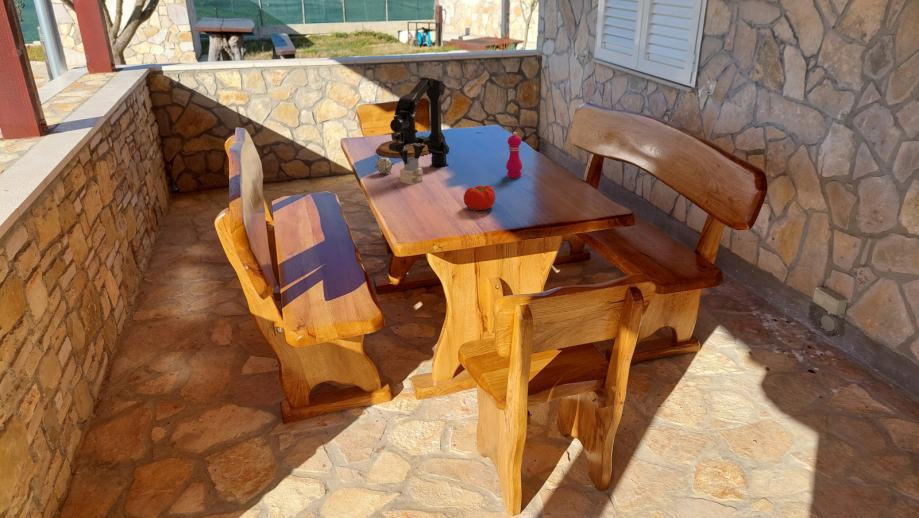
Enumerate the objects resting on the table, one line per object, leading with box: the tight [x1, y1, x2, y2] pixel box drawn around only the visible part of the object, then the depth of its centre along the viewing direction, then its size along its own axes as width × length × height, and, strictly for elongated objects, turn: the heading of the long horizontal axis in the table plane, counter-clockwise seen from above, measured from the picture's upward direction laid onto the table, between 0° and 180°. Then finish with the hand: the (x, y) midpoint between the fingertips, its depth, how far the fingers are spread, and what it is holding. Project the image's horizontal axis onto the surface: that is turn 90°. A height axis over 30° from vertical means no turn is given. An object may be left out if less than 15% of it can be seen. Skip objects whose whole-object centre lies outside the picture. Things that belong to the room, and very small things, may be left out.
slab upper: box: [399, 167, 424, 179], centre depth 278 cm, size 7×7×3 cm
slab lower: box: [399, 175, 423, 186], centre depth 280 cm, size 7×7×3 cm
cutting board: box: [376, 139, 432, 159], centre depth 329 cm, size 32×32×2 cm
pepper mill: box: [505, 131, 523, 179], centre depth 279 cm, size 7×7×20 cm
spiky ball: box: [374, 156, 395, 176], centre depth 290 cm, size 9×8×10 cm
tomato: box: [463, 184, 496, 211], centre depth 245 cm, size 13×12×8 cm
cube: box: [403, 157, 420, 171], centre depth 277 cm, size 4×4×4 cm
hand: (410, 163), depth 277 cm, fingers open, 6 cm apart
